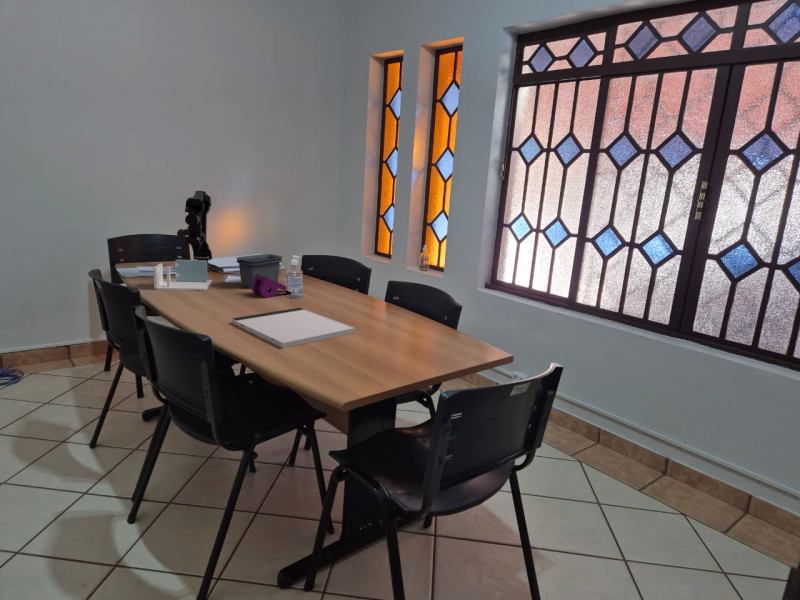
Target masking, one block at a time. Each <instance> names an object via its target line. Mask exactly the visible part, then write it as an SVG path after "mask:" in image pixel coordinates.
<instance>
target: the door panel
mask: <svg viewBox="0 0 800 600" xmlns="http://www.w3.org/2000/svg"><path fill="white" fill-rule="evenodd" d="M174 267H175V279H176V281H198V282H207V280H208V271H207V261H205V260H196V259H195V260H194V259H175V264H174Z"/></svg>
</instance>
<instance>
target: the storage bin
mask: <svg viewBox="0 0 800 600" xmlns="http://www.w3.org/2000/svg"><path fill="white" fill-rule="evenodd" d="M282 258H284V256H281V255H276V254H272V253H262V254H253V255H252V254H250V255H242V256H237V257H235V259H236V263H237V264H238V265H239V266H238V267H239V276H240V284H241V286H242V287H245V288H248V289H251V290H252V288H251V285H252V282H253V280H254V277H255V275H256V274H258V275H260V276H263V277H266V278H268V279H271V280H273V281H275V282H278V283H279V276H280V274H279V272H280V264H281V262H283V259H282Z"/></svg>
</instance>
